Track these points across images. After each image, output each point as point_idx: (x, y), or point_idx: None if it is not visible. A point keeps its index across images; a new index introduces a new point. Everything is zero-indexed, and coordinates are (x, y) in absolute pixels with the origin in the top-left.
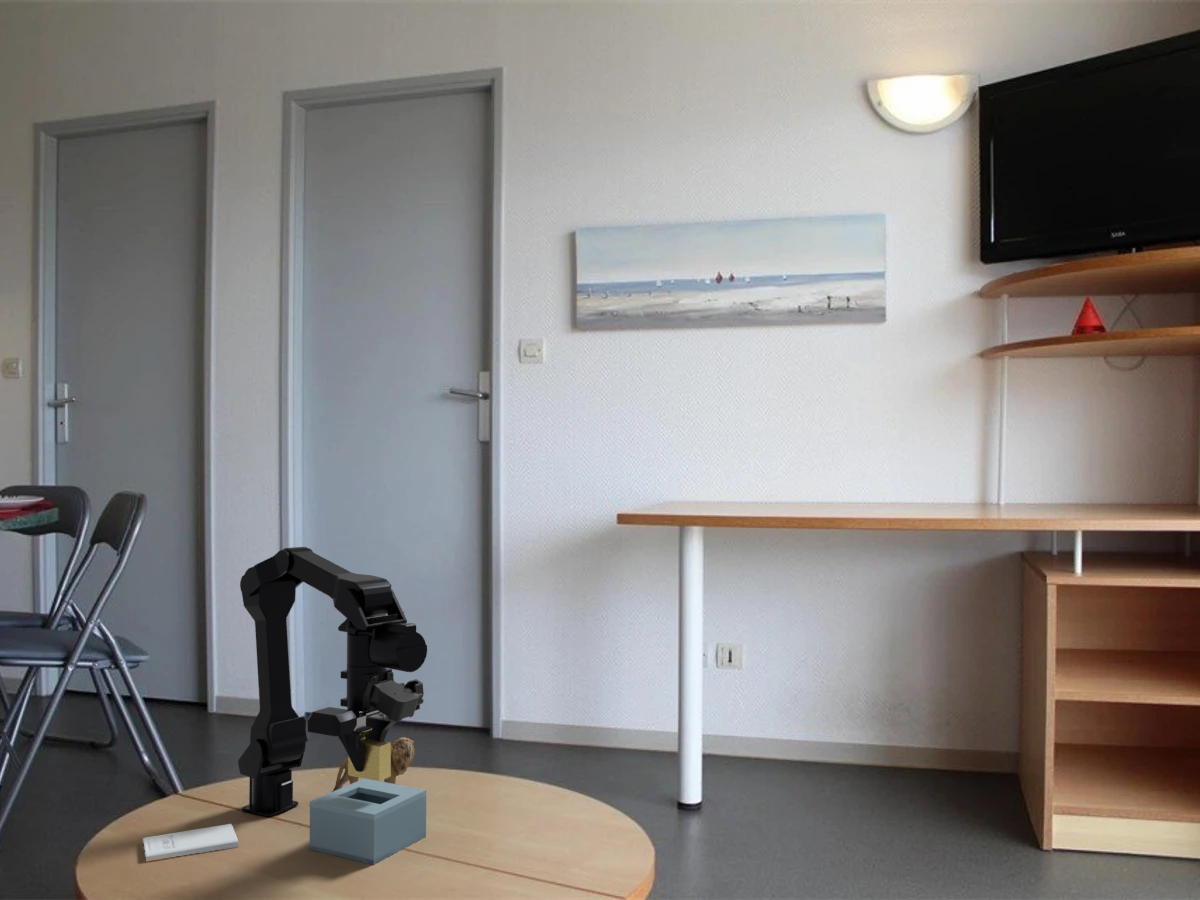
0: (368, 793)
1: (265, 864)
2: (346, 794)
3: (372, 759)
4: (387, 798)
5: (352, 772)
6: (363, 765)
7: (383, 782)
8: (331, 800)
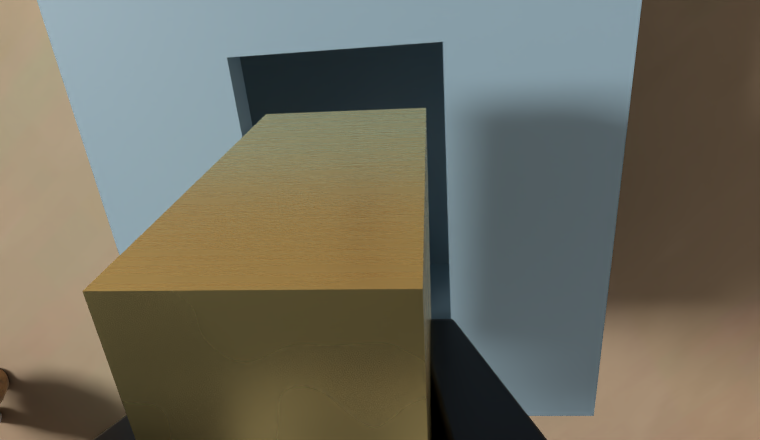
0: None
1: (724, 309)
2: None
3: (427, 286)
4: None
5: None
6: (434, 342)
7: None
8: (534, 339)
